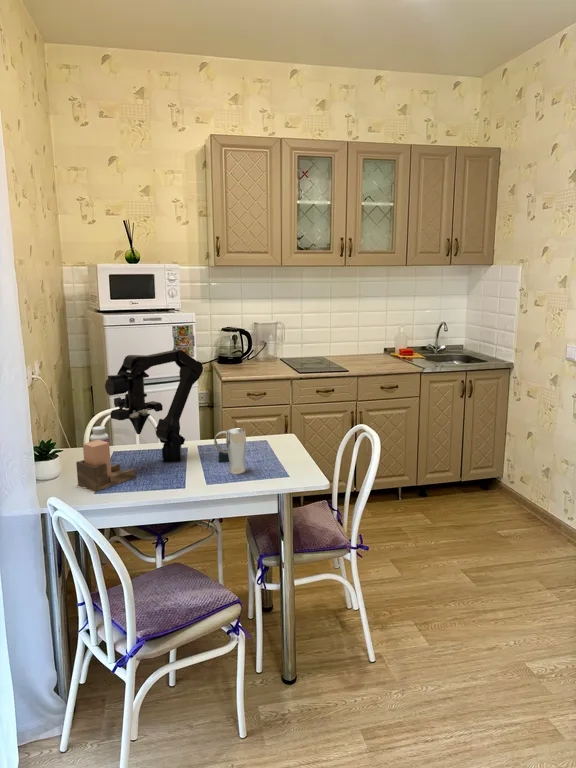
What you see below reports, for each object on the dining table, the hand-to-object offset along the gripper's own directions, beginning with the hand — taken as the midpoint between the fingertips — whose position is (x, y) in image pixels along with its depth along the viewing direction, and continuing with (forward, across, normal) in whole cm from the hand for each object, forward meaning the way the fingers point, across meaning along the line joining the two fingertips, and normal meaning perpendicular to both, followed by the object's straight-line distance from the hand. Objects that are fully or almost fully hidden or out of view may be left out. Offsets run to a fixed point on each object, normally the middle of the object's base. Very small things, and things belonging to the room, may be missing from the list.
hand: (138, 433), depth 209 cm
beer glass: (+13, -19, +30) cm, 38 cm away
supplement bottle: (+13, +3, -20) cm, 24 cm away
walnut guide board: (+13, +15, +1) cm, 20 cm away
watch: (+13, -25, +18) cm, 34 cm away
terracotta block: (+12, +18, +1) cm, 22 cm away
